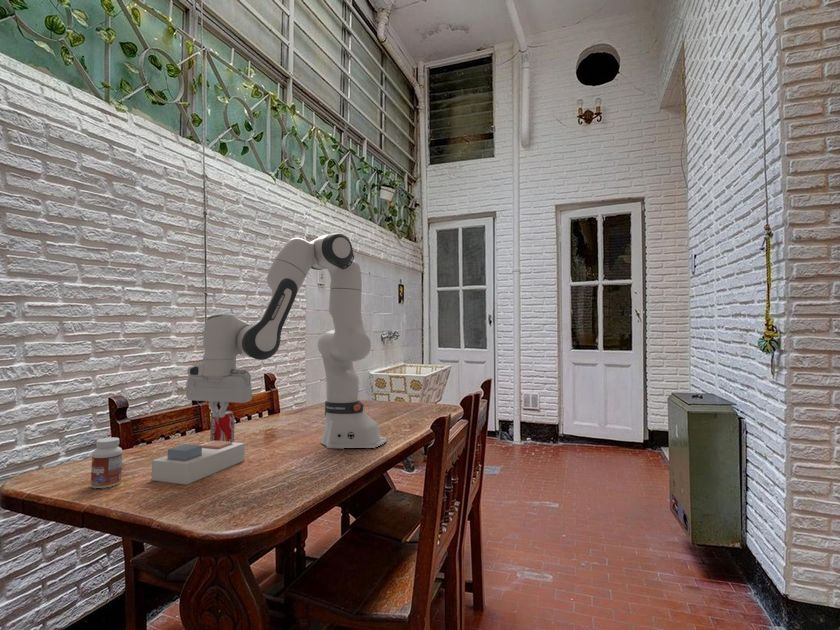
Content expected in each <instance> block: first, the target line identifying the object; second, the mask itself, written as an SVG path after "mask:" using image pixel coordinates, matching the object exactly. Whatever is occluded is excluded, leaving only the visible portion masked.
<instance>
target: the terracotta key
mask: <svg viewBox="0 0 840 630" xmlns="http://www.w3.org/2000/svg"><path fill="white" fill-rule="evenodd" d="M209 442H210V441H209ZM206 443H207V444H205V443H203V444H204V445H202V448H209V449H221V448H224V447H227V446H230V445H232V442H227V441H213V442H210V443H208V442H206Z"/></svg>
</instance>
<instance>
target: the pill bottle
mask: <svg viewBox="0 0 840 630" xmlns="http://www.w3.org/2000/svg"><path fill="white" fill-rule="evenodd" d="M95 443H96V444H95V446H96V449H94V451H92V453H91V472H90V487H91V488H92V489H96V488H102V489H107V488H106V487H109V488H113V487H115V485H116V486H117V485H119V484H120V483H121V482H122V475H123V474H122V470H123V469H122V468H123V449H122V447H120V446H119V445H120V438H119V437H105V438H104V437H103V438H99V439H97V440H96V442H95ZM112 486H113V487H112Z"/></svg>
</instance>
